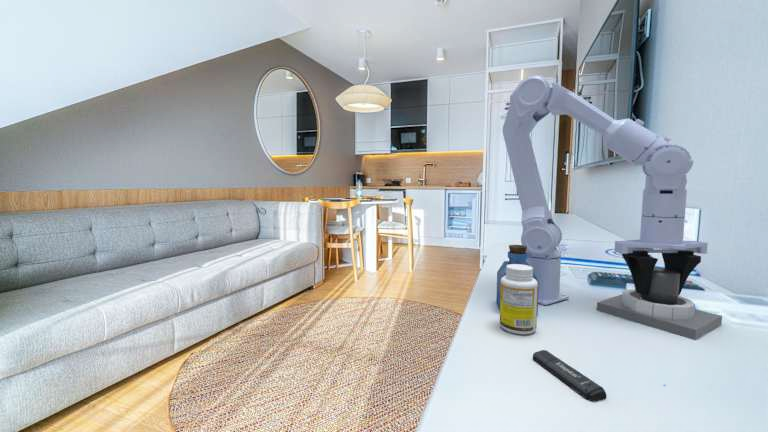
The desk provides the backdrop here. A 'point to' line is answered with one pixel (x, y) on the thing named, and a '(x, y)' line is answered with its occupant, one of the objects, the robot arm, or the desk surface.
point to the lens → (663, 287)
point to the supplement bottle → (518, 300)
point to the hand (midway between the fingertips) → (657, 293)
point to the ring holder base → (662, 314)
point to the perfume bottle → (515, 257)
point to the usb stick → (570, 376)
